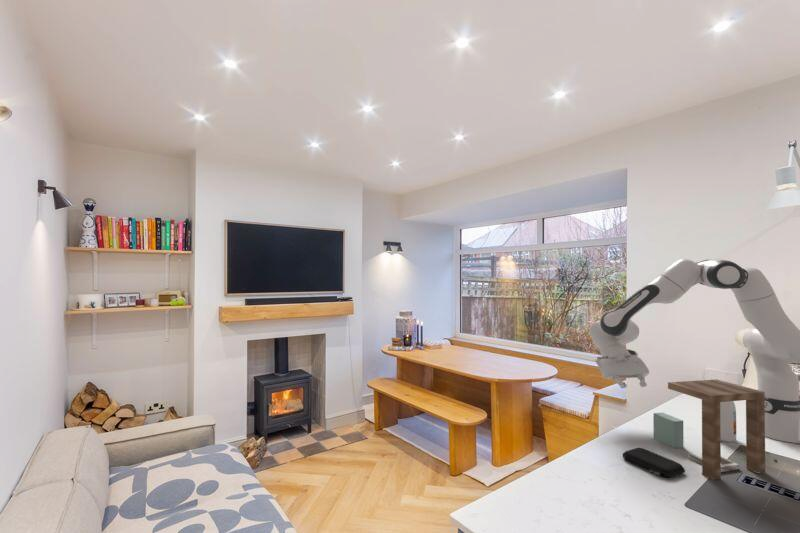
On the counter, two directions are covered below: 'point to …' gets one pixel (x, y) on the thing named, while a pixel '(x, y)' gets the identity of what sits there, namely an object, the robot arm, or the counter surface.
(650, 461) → the carrying case or bag
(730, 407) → the milk bottle
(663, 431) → the sage rectangular block
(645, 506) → the counter surface
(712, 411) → the walnut overhang shelf
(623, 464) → the counter surface
